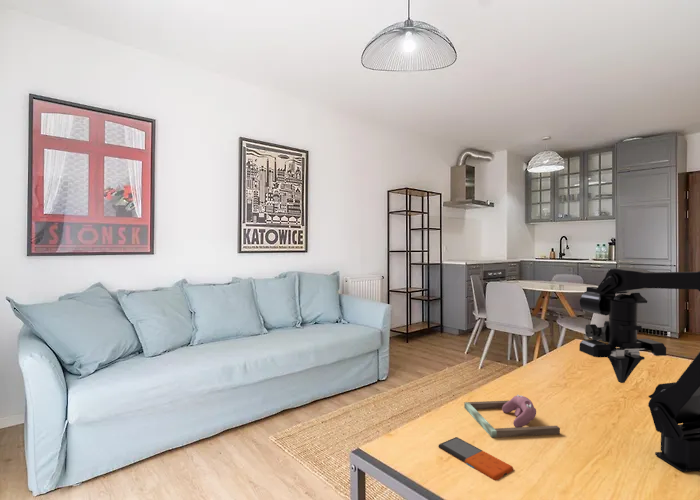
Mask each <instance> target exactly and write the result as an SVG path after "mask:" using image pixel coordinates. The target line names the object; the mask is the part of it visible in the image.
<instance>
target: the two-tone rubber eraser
mask: <svg viewBox="0 0 700 500" xmlns="http://www.w3.org/2000/svg"><path fill="white" fill-rule="evenodd" d="M438 448H439V449H440V450H442V451H444V452H445V453H447V454H449V455H450V456H452V457H453V458H456V459H458V460H459V461H460V462H461V463H464V464H466V465H468V467H471V468H473V469H474V470H475V471H477V472H479V473H481V474H483V475H485V476H486V477H488V478H490V479H492V480H493V481H497V480H499V479H501V478H503V477H504V476H505V475H508V474H510V473H511V472H513V471H514V467H513V466H512V465H511V464H509V463H507V462H506V461H504V460H502V459H499V458H498V457H495V456H494V455H491V454H490V453H488V452H486V451H484V450H482V449H481V448H479V447H476V446H474V445H473V444H471V443H469V442H467V441H465V440H463V439H461V438H459V437H458V436H457V437H453V438H450V439H448V440H445V441H443V442H442V443H441V442H440V443H439V444H438Z"/></svg>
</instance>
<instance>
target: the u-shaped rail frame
mask: <svg viewBox="0 0 700 500" xmlns="http://www.w3.org/2000/svg"><path fill="white" fill-rule="evenodd" d="M508 401H509V400H491V401H487V400H486V401H466V402H463V403H464V404H463V405H464V407H463V408H464V409H465V410H466V411H467V412H468V413H469V415H471V416H472V418H473V419H474V420H475V421H476V422H477V423H478V424H479V426H480V427H481V428H482V429H483V430H484V431H485V432H486V433H487V434H488V435H489V436H490V437H491V438H509V437H525V436H527V437H528V436H544V435H545V436H546V435H548V436H549V435H560V434H561V427H559V426H558V425H544V426H543V425H542V426H541V425H540V426H523V427H502V428H501V427H500V428H499V427H498V428H494V426H492V425H491V423H489V421H487V420H486V418H484V416H483V415H482V414H481V413H480V412H479V411H478V410H486V409H502V407H503V405H504V404H505V403H507V402H508Z"/></svg>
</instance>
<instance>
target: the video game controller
mask: <svg viewBox="0 0 700 500" xmlns="http://www.w3.org/2000/svg"><path fill="white" fill-rule="evenodd" d="M507 401H508V402H507V403H505V404H504V405H503V407H502V408H501V410H502V412H503V413H506V414H507V413H511V412H513V411H514V416H515V419H514V420H513V422H512V424H513V426H514V428H516V427H526V425H528V424H529V423H530V422H531V421H533V420H534V419H535V418H536V415H537V409H536V407H535V406H534V404H533V402H532V401H531V400H530V399H529V398H528V397H526V396H524V395H520V394H517V395H514V396H513V397H512V398H511V399H510V400H507ZM516 416H517V417H516Z"/></svg>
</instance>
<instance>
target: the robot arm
mask: <svg viewBox="0 0 700 500" xmlns="http://www.w3.org/2000/svg"><path fill="white" fill-rule="evenodd" d="M651 289H664V290H665V289H667V290H669V289H670V290H673V289H674V290H697V291H699V292H700V270H699V271H662V272H661V271H659V272H658V271H656V272H655V271H650V270H647V269H641V268H635V267H620V268H619V267H618V268H617V267H616V268H614V267H613V268H610V269H608V271H607V272H606V274H605V277H604V278H603V280H602V281H601V282H600V283H599V285H598V286H586V291H584V292H583V293H582V295H581V297H580V299H579V306H580V308H581V309H582V310H583V311H585V312H589V313H592V314H598V315H601V316H608V320H605V321H604V323H603V326H599V327H598V325H597V324H595V323H594V324H593V323H591V324H585V328H584V329H585V330H584V332H585V336H586V337H587V338H591V339H582V340H581V341H580V342H579V352H581V353H584V354H586V355H589V356H591V357H593V358H607V359H608V360H609V361H610V364H611V366H612V369H613V371H614V374H615V377H616V379H617V382H619V383H620V384H625V383H626V381H627V380H628V378H629V377H630V376H631V374H632V373H633V372H634V370H635V368H636V367H637V366H638V364H640V363H641V361H644V360H645V357H644V356H643V355H641V353H640V352H650V351H651V354H653V356H656V357H662V356H664V357H665V356H667V347H666V345H665V344H664V343H663V342H659V341H656V340H654V339H650V338H638V331H642V330H643V328H642V327H643V326H642V325H641V324H640V325H639V324H638V311H639V310H638V309H639V305H638V304H648V300H647V299H646V298H645V297H644V296H642V295H641V293H640V292H641V291H647V290H651ZM639 291H640V292H639ZM630 292H631V293H630ZM628 293H630V294H628ZM648 398H650V399H649V401H648V405H647V407H648V408H649V411H650V413H651V417H652V422H653V425H654V427H655V430H656V431H657V432H658V433H660V451H655V453H654V455H655V456H656V457H658V458H659V459H660V460H663V461H664V462H666V463H667V464H669V465H670V466H672V467H674V468H676V469H677V470H678V471H680V472H684V473H685V472H700V471H699V470H700V351H699V352H698V353H697V355H696V356H695V357H694V359H692V361H691V362H690V364H689V365H688V366H687V367H686V369H685V370H684V372H683V373H682V374H681V375H680V376H679V378H678V379H677V380H676V381H675V382H667V383H665V382H664V383H658V384H657V386H655V389H654V391H653V392H652V394H650V395H648Z"/></svg>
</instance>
